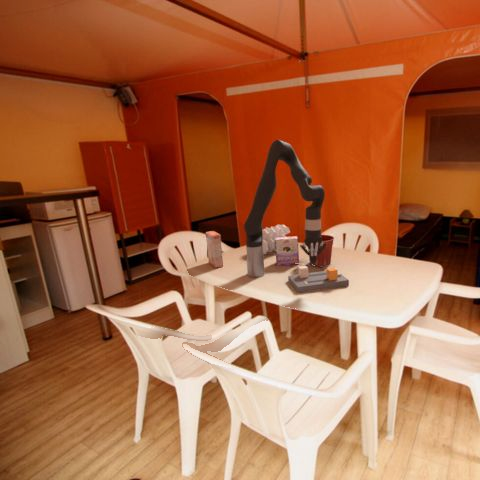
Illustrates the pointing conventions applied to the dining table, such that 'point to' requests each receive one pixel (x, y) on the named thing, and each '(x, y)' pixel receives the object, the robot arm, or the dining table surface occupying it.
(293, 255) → the candy box
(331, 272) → the orange slider
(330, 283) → the panel
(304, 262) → the dining table surface
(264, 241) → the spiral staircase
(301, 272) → the ivory slider
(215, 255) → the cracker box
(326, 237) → the flower pot
